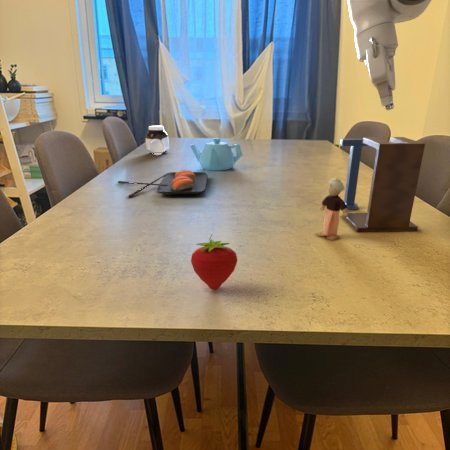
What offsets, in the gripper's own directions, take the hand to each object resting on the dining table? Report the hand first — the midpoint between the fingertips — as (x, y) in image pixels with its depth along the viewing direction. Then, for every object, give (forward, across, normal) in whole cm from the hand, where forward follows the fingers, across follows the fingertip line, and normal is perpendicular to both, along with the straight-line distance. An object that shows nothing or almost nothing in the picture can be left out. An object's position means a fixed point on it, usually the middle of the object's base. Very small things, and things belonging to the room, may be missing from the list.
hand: (388, 107), depth 102 cm
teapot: (-4, +41, +67) cm, 78 cm away
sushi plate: (0, +4, +71) cm, 71 cm away
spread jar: (-21, +60, +103) cm, 121 cm away
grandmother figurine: (+25, -21, +15) cm, 36 cm away
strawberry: (+26, -55, +27) cm, 67 cm away
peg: (+21, +4, +14) cm, 26 cm away
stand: (+26, -7, +6) cm, 27 cm away
